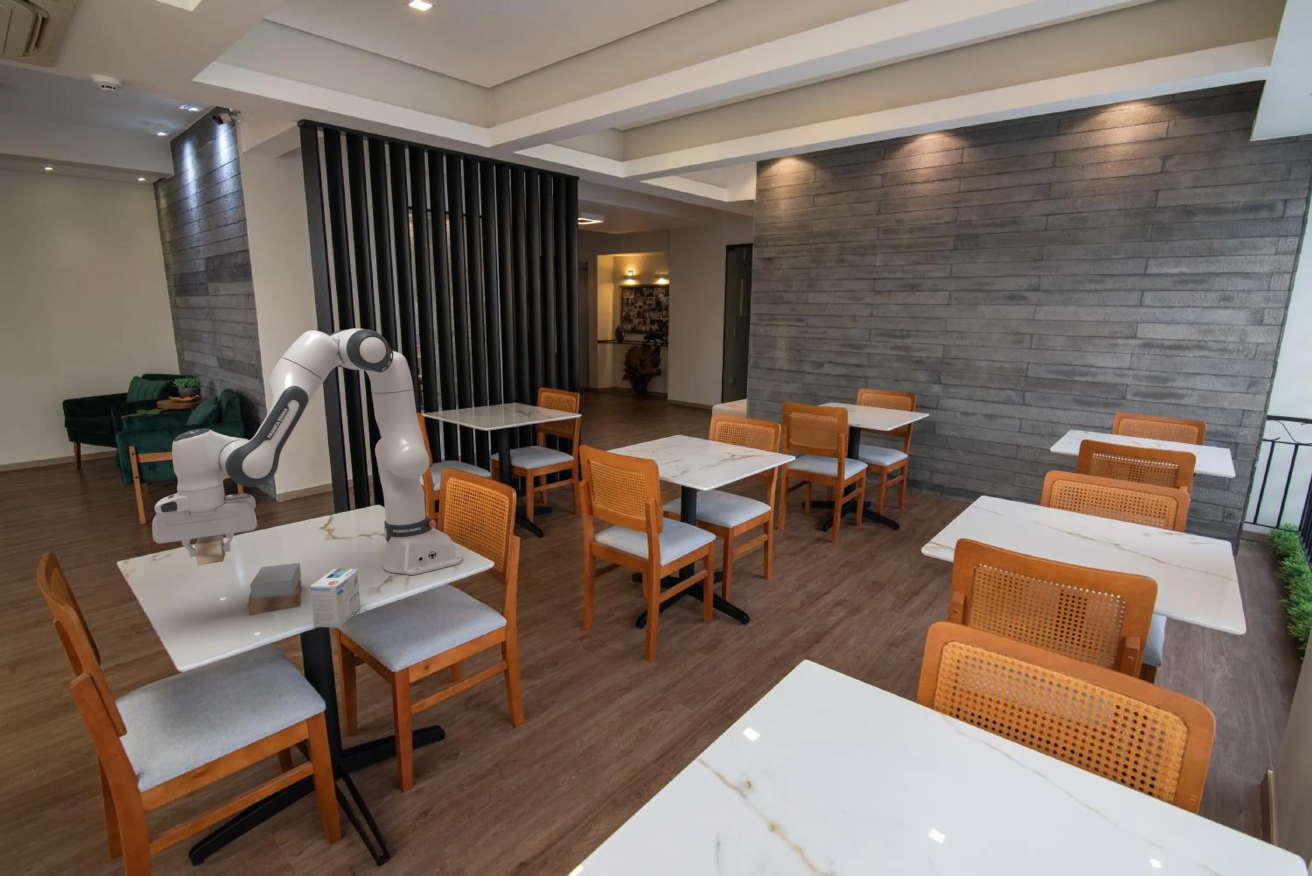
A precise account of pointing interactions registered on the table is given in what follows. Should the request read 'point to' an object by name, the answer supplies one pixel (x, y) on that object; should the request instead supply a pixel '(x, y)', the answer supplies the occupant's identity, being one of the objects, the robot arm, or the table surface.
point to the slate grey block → (275, 581)
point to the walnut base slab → (275, 602)
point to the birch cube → (209, 550)
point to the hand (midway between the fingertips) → (210, 553)
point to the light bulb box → (335, 597)
